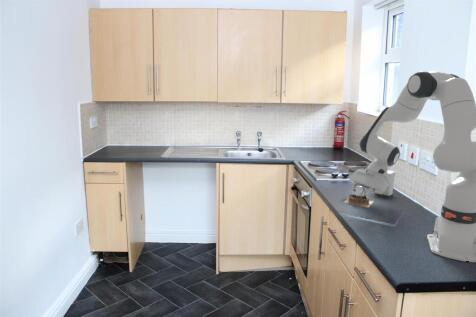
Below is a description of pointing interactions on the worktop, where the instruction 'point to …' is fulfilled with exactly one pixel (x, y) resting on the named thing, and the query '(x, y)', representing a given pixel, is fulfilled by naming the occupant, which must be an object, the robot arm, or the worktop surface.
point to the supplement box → (390, 187)
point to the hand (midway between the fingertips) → (358, 193)
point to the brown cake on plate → (359, 201)
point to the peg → (359, 192)
